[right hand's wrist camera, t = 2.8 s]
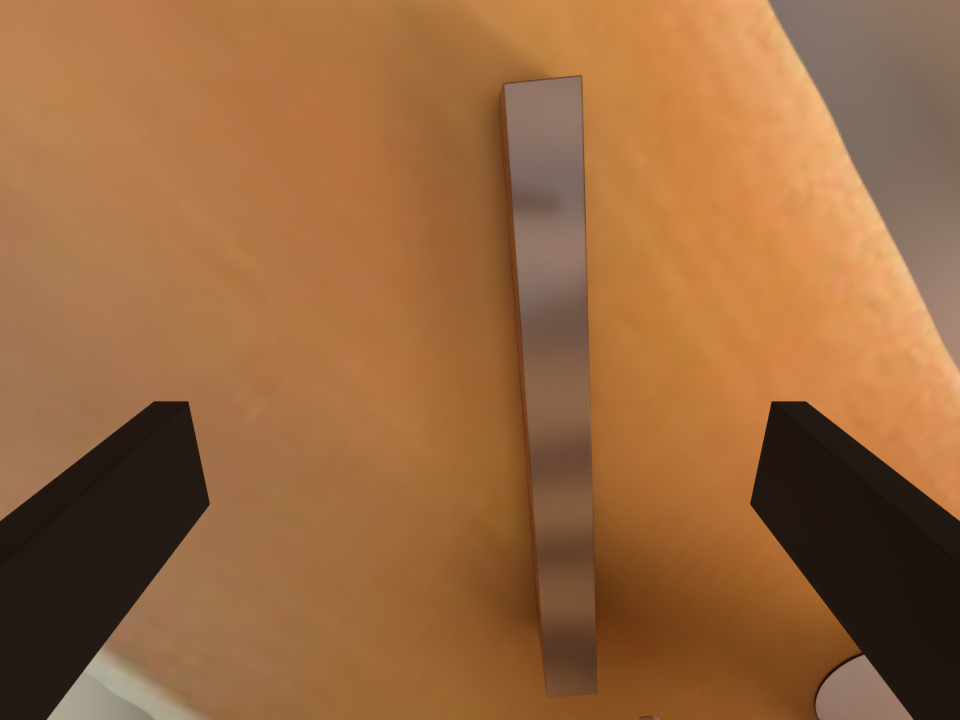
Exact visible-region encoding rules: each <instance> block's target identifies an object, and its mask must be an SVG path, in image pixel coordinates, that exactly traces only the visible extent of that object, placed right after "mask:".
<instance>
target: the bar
mask: <svg viewBox="0 0 960 720" xmlns="http://www.w3.org/2000/svg"><path fill="white" fill-rule="evenodd" d="M499 104H500V117H501V131H502V144H503V158H504V171H505V185H506V198H507V212H508V225H509V239H510V252H511V266H512V279H513V293H514V306H515V320H516V333H517V346H518V360H519V373H520V387H521V400H522V414H523V427H524V441H525V454H526V468H527V481H528V495H529V508H530V522H531V535H532V549H533V562H534V576H535V589H536V603H537V616H538V629H539V638H540V646H541V654H542V662H543V671H544V679H545V687H546V695H547V697H560V696H575V695H590V694H597V655H596V615H595V575H594V535H593V495H592V455H591V415H590V375H589V335H588V295H587V255H586V215H585V175H584V135H583V95H582V76H581V75H578V76H568V77H559V78H549V79H540V80H530V81H521V82H511V83H504V84H503V86H502V89H501V92H500V95H499Z"/></svg>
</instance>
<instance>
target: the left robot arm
mask: <svg viewBox="0 0 960 720" xmlns="http://www.w3.org/2000/svg"><path fill="white" fill-rule="evenodd" d="M816 713H817V716H818V718H819V720H913V718H912V717H911V716H910V714H909V713H908V712H907V711H906V709H905V708H904V707H903V705H902V704H901V703H900V701H899V700H898V699H897V697H896V696H895V695H894V693H893V692H892V691H891V689H890V688H889V687H888V685H887V684H886V683H885V681H884V680H883V679H882V678H881V676H880V675H879V674H878V672H877V671H876V670H875V668H874V667H873V666H872V664H871V663H870V662H869V660H868V659H867V658H866V656H865V655H862V656H859V657H857V658H855V659H853V660H851V661H849V662H847V663H846V664H844V665H842V666H841V667H840V668H838V669H837V670H836V671H835V672H833V673H832V674H831V675H830V676H829V677H828V678H827V680H826V681H825V682H824V683H823V685H822V686H821V688H820V690H819V692H818V695H817V698H816ZM639 720H661V719H660V717H659V715H657V716H642V717H639Z"/></svg>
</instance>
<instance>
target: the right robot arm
mask: <svg viewBox="0 0 960 720" xmlns="http://www.w3.org/2000/svg"><path fill="white" fill-rule="evenodd" d="M209 505H210V503H209V498H208V493H207V488H206V483H205V479H204V474H203V469H202V464H201V460H200V455H199V450H198V445H197V441H196V436H195V431H194V426H193V422H192V417H191V412H190V407H189V403H188V401H154V402H153V403H152V404H150V405H149V406H148V407H146V408H145V409H144V410H143V411H141V412H140V413H139V414H137V415H136V416H135V417H134V418H132V419H131V420H130V421H128V422H127V423H126V424H125V425H123V426H122V427H121V428H119V429H118V430H117V431H116V432H114V433H113V434H112V435H110V436H109V437H108V438H107V439H105V440H104V441H103V442H101V443H100V444H99V445H98V446H96V447H95V448H94V449H92V450H91V451H90V452H89V453H87V454H86V455H85V456H83V457H82V458H81V459H80V460H78V461H77V462H76V463H74V464H73V465H72V466H71V467H69V468H68V469H67V470H65V471H64V472H63V473H62V474H60V475H59V476H58V477H56V478H55V479H54V480H53V481H51V482H50V483H49V484H47V485H46V486H45V487H44V488H42V489H41V490H40V491H38V492H37V493H36V494H35V495H33V496H32V497H31V498H29V499H28V500H27V501H26V502H24V503H23V504H22V505H20V506H19V507H18V508H17V509H15V510H14V511H13V512H11V513H10V514H9V515H8V516H6V517H5V518H4V519H2V520H1V521H0V720H47V718H48V717H49V716H50V714H51V713H52V712H53V711H54V709H55V708H56V707H57V705H58V704H59V703H60V701H61V700H62V699H63V697H64V696H65V695H66V693H67V692H68V691H69V689H70V688H71V687H72V685H73V684H74V683H75V681H76V680H77V679H78V678H79V676H80V675H81V674H82V672H83V671H84V670H85V668H86V667H87V666H88V664H89V663H90V662H91V660H92V659H93V658H94V656H95V655H96V654H97V652H98V651H99V650H100V649H101V647H102V646H103V645H104V643H105V642H106V641H107V639H108V638H109V637H110V635H111V634H112V633H113V631H114V630H115V629H116V627H117V626H118V625H119V623H120V622H121V621H122V619H123V618H124V617H125V616H126V614H127V613H128V612H129V610H130V609H131V608H132V606H133V605H134V604H135V602H136V601H137V600H138V598H139V597H140V596H141V594H142V593H143V592H144V590H145V589H146V588H147V587H148V585H149V584H150V583H151V581H152V580H153V579H154V577H155V576H156V575H157V573H158V572H159V571H160V569H161V568H162V567H163V565H164V564H165V563H166V561H167V560H168V559H169V558H170V556H171V555H172V554H173V552H174V551H175V550H176V548H177V547H178V546H179V544H180V543H181V542H182V540H183V539H184V538H185V536H186V535H187V534H188V532H189V531H190V530H191V528H192V527H193V526H194V525H195V523H196V522H197V521H198V519H199V518H200V517H201V515H202V514H203V513H204V511H205V510H206V509H207V507H208V506H209ZM750 505H751V506H752V507H753V509H754V510H755V511H756V513H757V514H758V515H759V517H760V518H761V519H762V521H763V522H764V523H765V525H766V526H767V527H768V528H769V530H770V531H771V532H772V534H773V535H774V536H775V538H776V539H777V540H778V542H779V543H780V544H781V546H782V547H783V548H784V550H785V551H786V552H787V554H788V555H789V556H790V558H791V559H792V560H793V561H794V563H795V564H796V565H797V567H798V568H799V569H800V571H801V572H802V573H803V575H804V576H805V577H806V579H807V580H808V581H809V583H810V584H811V585H812V587H813V588H814V589H815V590H816V592H817V593H818V594H819V596H820V597H821V598H822V600H823V601H824V602H825V604H826V605H827V606H828V608H829V609H830V610H831V612H832V613H833V614H834V616H835V617H836V618H837V620H838V621H839V622H840V623H841V625H842V626H843V627H844V629H845V630H846V631H847V633H848V634H849V635H850V637H851V638H852V639H853V641H854V642H855V643H856V645H857V646H858V647H859V649H860V650H861V651H862V652H863V654H864V655H865V656H866V658H867V659H868V660H869V662H870V663H871V664H872V666H873V667H874V668H875V670H876V671H877V672H878V674H879V675H880V676H881V678H882V679H883V680H884V681H885V683H886V684H887V685H888V687H889V688H890V689H891V691H892V692H893V693H894V695H895V696H896V697H897V699H898V700H899V701H900V703H901V704H902V705H903V707H904V708H905V709H906V711H907V712H908V713H909V714H910V716H911V717H912V718H913V720H960V521H959V520H958V519H956V518H955V517H954V516H952V515H951V514H950V513H949V512H947V511H946V510H945V509H943V508H942V507H941V506H940V505H938V504H937V503H936V502H934V501H933V500H932V499H931V498H929V497H928V496H927V495H925V494H924V493H923V492H922V491H920V490H919V489H918V488H916V487H915V486H914V485H913V484H911V483H910V482H909V481H907V480H906V479H905V478H904V477H902V476H901V475H900V474H898V473H897V472H896V471H895V470H893V469H892V468H891V467H889V466H888V465H887V464H886V463H884V462H883V461H882V460H880V459H879V458H878V457H877V456H875V455H874V454H873V453H871V452H870V451H869V450H868V449H866V448H865V447H864V446H862V445H861V444H860V443H859V442H857V441H856V440H855V439H853V438H852V437H851V436H850V435H848V434H847V433H846V432H844V431H843V430H842V429H841V428H839V427H838V426H837V425H835V424H834V423H833V422H832V421H830V420H829V419H828V418H826V417H825V416H824V415H823V414H821V413H820V412H819V411H817V410H816V409H815V408H814V407H812V406H811V405H810V404H808V403H807V402H806V401H772V403H771V407H770V412H769V417H768V422H767V426H766V431H765V436H764V441H763V445H762V450H761V455H760V460H759V464H758V469H757V474H756V479H755V483H754V488H753V493H752V498H751V503H750Z"/></svg>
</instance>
